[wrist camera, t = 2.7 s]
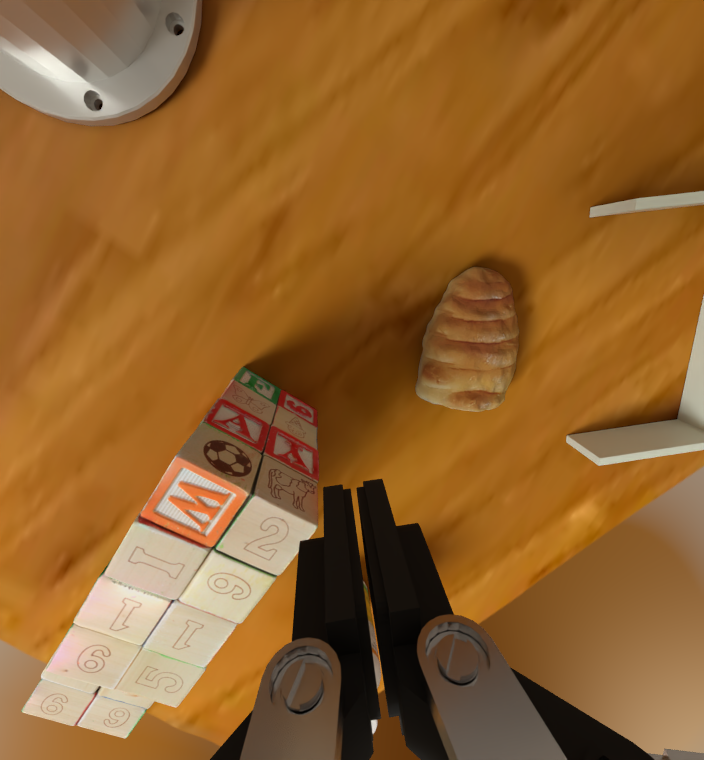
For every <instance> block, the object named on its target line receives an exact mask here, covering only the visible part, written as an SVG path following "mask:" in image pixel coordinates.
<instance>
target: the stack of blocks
mask: <svg viewBox="0 0 704 760" xmlns="http://www.w3.org/2000/svg"><path fill="white" fill-rule="evenodd" d="M317 421H318V420H317V410H316V409H314V408H312V407H311V406H309V405H307V404H306V403H304V402H302V401H301V400H299V399H297V398H296V397H294V396H292V395H291V394H289V393H287V392H286V391H284V390H281V389H279V388H278V387H276V386H274V385H273V384H271V383H269V382H268V381H266V380H264V379H263V378H261V377H260V376H258V375H256V374H255V373H253V372H251V371H250V370H248V369H247V368H245V367H242V368H241V369H240V370H239V372H238V373H237V374H236V375H235V376H234V378H233V379H232V380H231V382H230V383H229V385H228V386H227V388H226V390H225V391H224V393H223V394H222V396H221V397H220V398H219V399H217V401H216V402H215V404H214V405H213V406H212V408H211V409H210V410H209V412H208V413H207V414H206V416H205V417H204V419H203V420H202V422H201V423H200V424H199V426H198V428H197V429H196V430H195V432H194V433H193V434H192V435H191V436H190V438H189V439H188V440H187V442H186V443H185V444H184V445H183V447H182V448H181V449H180V451H179V452H178V453H177V455H176V456H175V458H174V459H173V461H172V462H171V464H170V465H169V467H168V469H167V470H166V472H165V474H164V475H163V477H162V479H161V480H160V482H159V484H158V485H157V487H156V489H155V490H154V492H153V494H152V495H151V497H150V498H149V500H148V502H147V503H146V505H145V506H144V508H143V509H142V510H141V512H140V513H139V515H138V516H137V518H136V519H135V521H134V522H133V524H132V526H131V527H130V529H129V531H128V533H127V534H126V536H125V538H124V539H123V541H122V543H121V545H120V546H119V548H118V550H117V551H116V553H115V555H114V557H113V558H112V559H111V561H110V562H109V564H108V565H107V566H106V568H105V569H104V571H103V572H102V573H101V575H100V576H99V578H98V579H97V581H96V583H95V584H94V586H93V588H92V589H91V591H90V593H89V595H88V596H87V598H86V600H85V601H84V603H83V605H82V607H81V608H80V610H79V612H78V614H77V615H76V617H75V619H74V623H73V624H72V626H71V627H70V629H69V630H68V632H67V634H66V636H65V637H64V639H63V641H62V642H61V644H60V645H59V647H58V648H57V650H56V651H55V653H54V655H53V656H52V658H51V659H50V661H49V663H48V664H47V666H46V668H45V669H44V671H43V672H42V674H41V678H42V679H41V681H40V682H39V684H38V685H37V687H36V689H35V690H34V692H33V693H32V695H31V696H30V698H29V700H28V701H27V703H26V705H25V706H24V707H23V709H22V712H24V713H27V714H30V715H34V716H38V717H42V718H46V719H50V720H53V721H57V722H60V723H63V724H67V725H71V726H73V725H78V726H81V727H84V728H88V729H92V730H95V731H99V732H103V733H107V734H110V735H114V736H118V737H122V738H127V737H128V736H129V734H130V733H131V731H132V729H134V727H135V726H136V724H137V723H138V722H139V720H140V719H141V718H142V716H143V715H144V713H145V712H146V710H147V709H148V708H150V707H151V705H152V704H153V703H154V701H156V702H159V703H162V704H165V705H168V706H172V707H178V706H179V704H180V703H181V702H182V701H183V699H184V698H185V697H186V695H187V694H188V693H189V691H190V690H191V688H192V687H193V686H194V684H195V683H196V682H197V681H198V679H199V678H200V677H201V675H202V674H203V673H204V671H205V670H206V667H207V665H208V664H209V663H210V661H211V660H212V659H213V658H214V656H215V655H216V654H217V652H218V651H219V650H220V648H221V647H222V645H223V644H224V643H225V642H226V640H227V639H228V638H229V637H230V635H231V634H232V633H233V631H234V630H235V628H236V626H237V625H238V624H239V623H242V622H243V621H244V620H245V618H246V617H247V616H248V615H249V613H250V612H251V611H252V609H253V608H254V607H255V606H256V604H257V603H258V602H259V600H260V599H261V598H262V597H263V595H264V594H265V593H266V591H267V590H268V589H269V588H270V586H271V585H272V584H273V582H274V581H275V579H276V577H277V575H280V574H282V573H283V571H284V570H285V569H286V568H287V566H288V565H289V564H290V563H291V561H292V560H293V559H294V558H295V556H296V555H297V554H298V553H299V544H300V541H303V540H309V539H310V538H311V536H312V535H313V534H314V533H315V531H316V529H317V527H318V493H317V483H318V481H319V457H318V455H319V453H318V451H317V449H318V448H317V428H318V422H317Z"/></svg>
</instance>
